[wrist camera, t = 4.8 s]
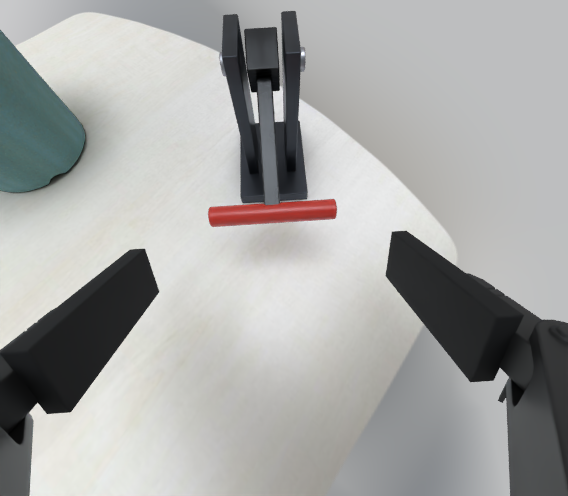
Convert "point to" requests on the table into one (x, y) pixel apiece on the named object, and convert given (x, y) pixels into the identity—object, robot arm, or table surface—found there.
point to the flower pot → (32, 126)
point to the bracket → (285, 132)
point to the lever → (268, 145)
